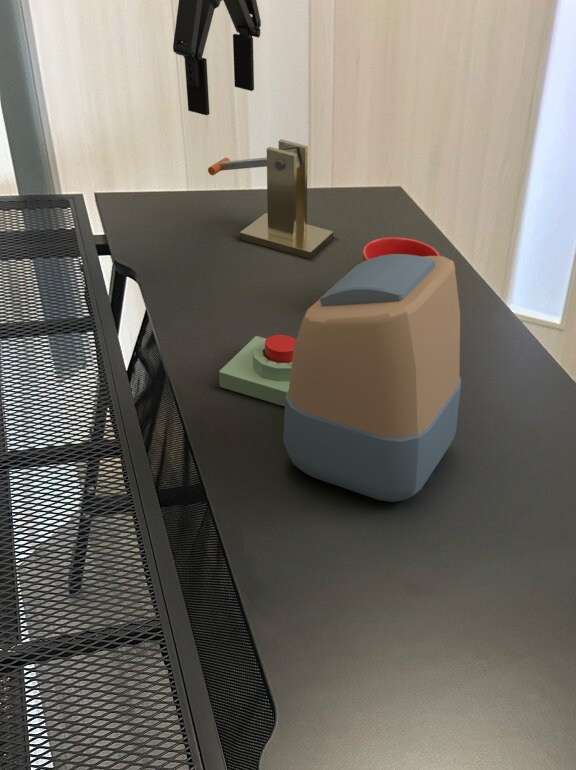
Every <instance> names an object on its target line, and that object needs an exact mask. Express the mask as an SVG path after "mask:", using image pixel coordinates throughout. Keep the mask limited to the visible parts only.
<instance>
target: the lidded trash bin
mask: <svg viewBox="0 0 576 770" xmlns="http://www.w3.org/2000/svg"><path fill="white" fill-rule="evenodd" d="M458 290H459V289H458V283H457V274H456V266H455V262H454V261H453V260H452V259H450V258H447V257H446V256H443V255H440V256H424V257H421V256H415V255H407V254H390V255H384V256H379V257H375V258H372V259H369V260H366V261H364V262H363V261H362V262H360V263H358V264H356V265H355V266H354V267H353V268H352V269H351V270H350V271H348V272H347V273H346V274H345V275H344V276H343V277H342V278H340V279H339V280H338V281H337V282H335V284H334V285H332V286H331V287H330V288H329V289H328V290H327V291H326V292H325V293H323V295H321V296H320V297H319V299H318V300H317V301H316V302H314V303H313V304H312V305H311V306H310V307H309V308H307V310H306V312H305V314H304V316H303V319H302V321H301V324H300V327H299V330H298V332H297V336H296V339H295V340H296V342H295V345H294V351H293V359H292V367H291V375H290V383H289V390H288V392H287V395H286V397H285V407H284V418H283V419H284V420H283V439H282V442H283V444H284V447H285V449H286V452H287V454H288V456H289V458H290V460H291V463H292V465H294V466H295V467H296V468H297V469H299V470H300V471H301V472H303V473H304V474H306V475H308V476H309V477H312V478H313V479H317V480H320V481H322V482H325V483H328V484H331V485H333V486H337V487H339V488H341V489H342V488H343V489H345V490H348V491H351V492H355V493H357V494H360V495H362V496H366V497H367V498H368V497H369V498H372V499H374V500H377V501H383V502H390V503H396V502H401V501H406V500H408V499H410V498H412V497H413V496H414V495H416V494H417V493H418V492H419V491H421V490H422V489H423V487H424V486H425V484H426V483H427V481H428V480H429V478H430V476H431V475H432V474H433V472H434V470H435V469H436V468H437V466H438V464H439V463H440V462H441V460H442V459H443V458H444V455H445V454H446V452H447V451H448V449H449V448H450V446H451V444H452V443H453V440H454V439H455V436H456V434H457V433H456V432H457V428H458V417H459V408H460V407H459V406H460V398H461V389H462V387H461V386H462V378H461V376H460V370H461V369H460V366H461V365H460V364H461V362H460V361H461V347H460V346H461V310H460V309H461V308H460V300H459V291H458Z"/></svg>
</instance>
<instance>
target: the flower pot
mask: <svg viewBox="0 0 576 770" xmlns="http://www.w3.org/2000/svg"><path fill="white" fill-rule="evenodd" d="M361 254H362V262H364V261H366V260H369V259H372V258H375V257H379V256H384V255H390V254H407V255H415V256H421V257H424V256H441V254H440V253H439V251H438V250H437V249H436V248H434V247H433V246H431V245H429V244H427V243H425V242H422V241H419V240H416V239H411V238H407V237H394V236H393V237H390V236H389V237H382V238H377V239H374V240H371V241H369V242H368V243H366V244H365V245H364V247H363V249H362V253H361Z"/></svg>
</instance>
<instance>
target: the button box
mask: <svg viewBox="0 0 576 770" xmlns="http://www.w3.org/2000/svg"><path fill="white" fill-rule="evenodd" d="M266 339H267V338H265V337H262V336H258V335H255V336H254V337H253V338H252V339H250V341H249V342H248V343H247V344H246V345H245V346H244V347H243V348H241V349H240V351H238V352H237V353H236V354H235V355H234V356H233V357H232V358H231V359H230V360H229V361H228V362H227V363H226V364H225V365H224V366H222V368H220V370H218V381H219V383H218V384H219V387H220V388H222V389H226V390H227V391H228V390H229V391H232V392H236V393H239V394H242V395H245V396H249V397H251V398H254V399H259V400H260V401H261V400H262V401H265V402H268V403H271V404H274V405H278V406H281V407H283V408H285V397H286V395H287V392H288V390H289V383H290V375H291V367H292V362H290V363H276V362H273V361H270V360H268V359H267V358H266V356H265V341H266Z"/></svg>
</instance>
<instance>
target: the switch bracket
mask: <svg viewBox="0 0 576 770" xmlns="http://www.w3.org/2000/svg"><path fill="white" fill-rule="evenodd" d="M287 149H297V152H298V156H299V160H300V164H301V166H300V167H298V168H297V154H295V153H291V152H288V151H284V150H287ZM266 158H267V166H266V190H267V191H266V196H267V198H266V199H267V212H265V213H263V214H262V215H261V216H259V217H258V218H257V219H256V220H254V221H253V222H252V223H250V224H249V225H248V226H246V227H245V228H244V229H242V230H241V231H239V240H240V241H244V242H248V243H251V244H254V245H258V246H262V247H265V248H269V249H271V250H276V251H279V252H284V253H285V254H286V253H287V254H290V255H294V256H297V257H301V258H304V259H308V260H311V259H313V258H314V257H315V256H316V255H318V254H319V252H320V251H321V250H323V249H324V248H325V247H326V246H327V245H328V244H329V243H330V242H331V241H333V239H334V231H333V230H330V229H326V228H323V227H318V226H315V225H311V224H308V171H309V170H308V168H309V167H308V166H309V165H308V164H309V146H308V145H305V144H301V143H297V142H293V141H290V140H286V139H283V138H282V139H279V140H278V148H276V147H271V146H268V147H266Z"/></svg>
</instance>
